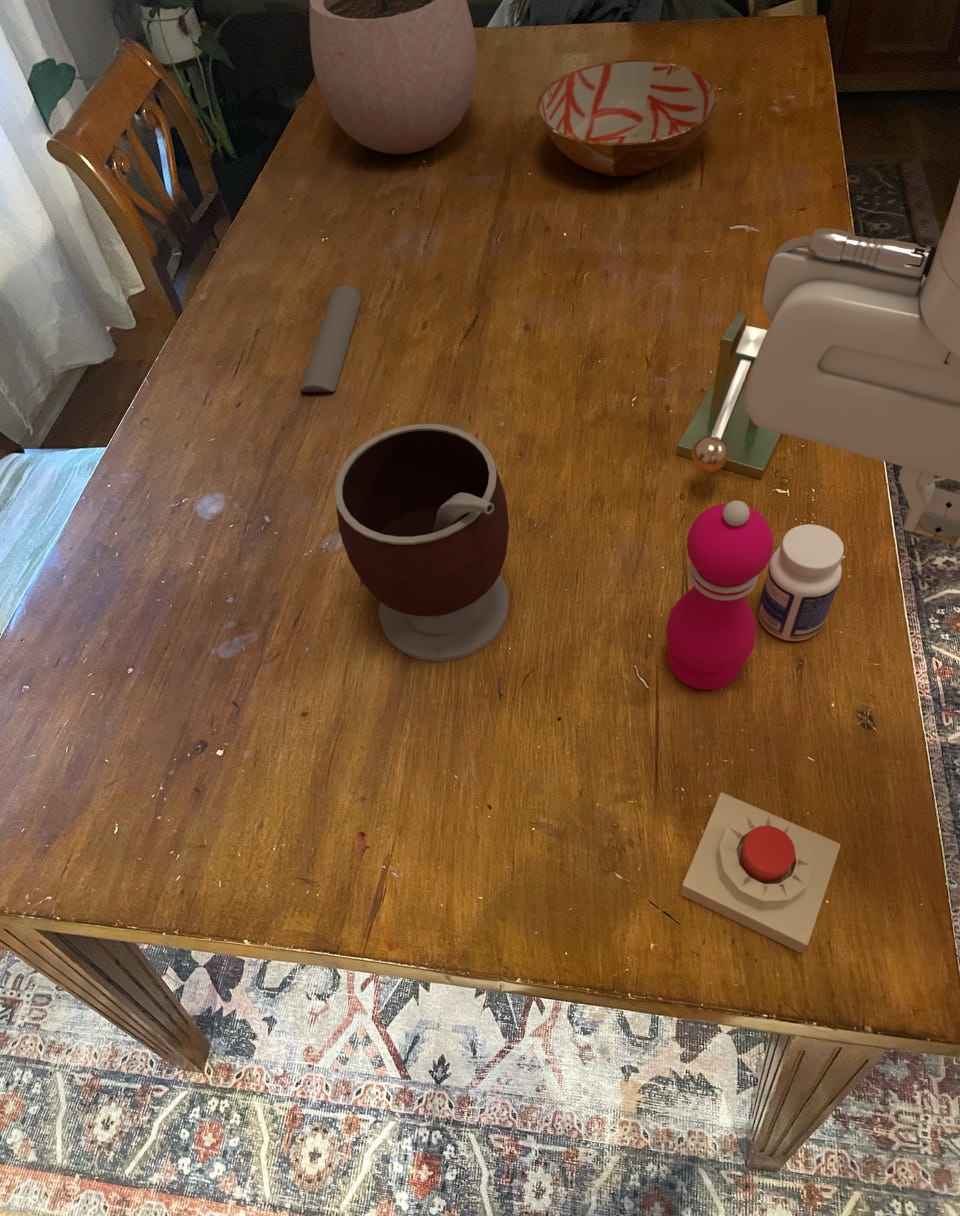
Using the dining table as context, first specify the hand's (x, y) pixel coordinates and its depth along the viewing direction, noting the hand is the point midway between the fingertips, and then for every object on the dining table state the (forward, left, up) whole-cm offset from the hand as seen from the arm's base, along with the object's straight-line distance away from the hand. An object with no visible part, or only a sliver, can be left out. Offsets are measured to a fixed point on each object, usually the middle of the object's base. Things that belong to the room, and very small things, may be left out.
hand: (936, 529), depth 41 cm
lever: (+18, -32, -24) cm, 44 cm away
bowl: (+52, -85, -31) cm, 104 cm away
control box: (+1, +8, -31) cm, 32 cm away
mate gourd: (+34, -3, -31) cm, 46 cm away
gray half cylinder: (+68, -32, -31) cm, 81 cm away
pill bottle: (+6, -16, -31) cm, 35 cm away
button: (+1, +8, -27) cm, 29 cm away
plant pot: (+86, -79, -31) cm, 121 cm away
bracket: (+18, -36, -31) cm, 51 cm away
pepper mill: (+11, -8, -31) cm, 34 cm away
